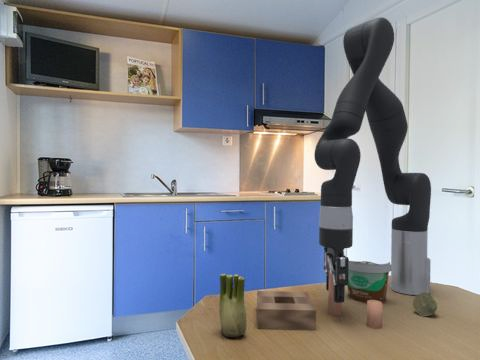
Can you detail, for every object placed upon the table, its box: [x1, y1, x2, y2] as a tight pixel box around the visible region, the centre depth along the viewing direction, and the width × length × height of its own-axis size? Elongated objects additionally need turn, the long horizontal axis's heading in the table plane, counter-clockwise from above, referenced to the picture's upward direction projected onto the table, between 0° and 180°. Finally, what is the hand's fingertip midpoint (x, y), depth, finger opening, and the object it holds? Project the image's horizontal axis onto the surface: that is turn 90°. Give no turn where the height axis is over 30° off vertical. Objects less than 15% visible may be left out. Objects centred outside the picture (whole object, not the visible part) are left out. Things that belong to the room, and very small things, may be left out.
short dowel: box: [366, 300, 383, 329], centre depth 76 cm, size 3×3×5 cm
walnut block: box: [256, 290, 317, 331], centre depth 80 cm, size 12×12×4 cm
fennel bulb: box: [219, 273, 247, 338], centre depth 71 cm, size 6×5×12 cm
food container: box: [346, 260, 392, 304], centre depth 92 cm, size 12×6×10 cm, turn 62°
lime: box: [412, 293, 438, 317], centre depth 83 cm, size 4×5×5 cm
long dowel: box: [327, 270, 343, 317], centre depth 82 cm, size 3×3×10 cm
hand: (334, 296), depth 82 cm, fingers open, 7 cm apart
